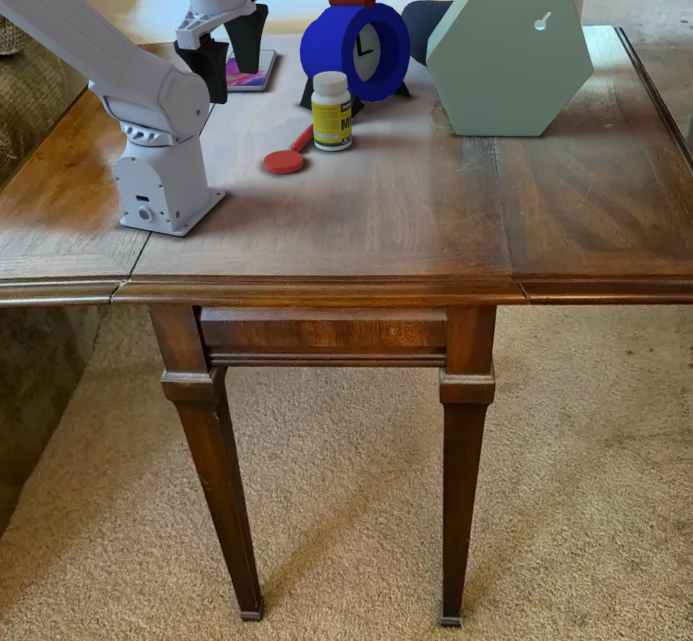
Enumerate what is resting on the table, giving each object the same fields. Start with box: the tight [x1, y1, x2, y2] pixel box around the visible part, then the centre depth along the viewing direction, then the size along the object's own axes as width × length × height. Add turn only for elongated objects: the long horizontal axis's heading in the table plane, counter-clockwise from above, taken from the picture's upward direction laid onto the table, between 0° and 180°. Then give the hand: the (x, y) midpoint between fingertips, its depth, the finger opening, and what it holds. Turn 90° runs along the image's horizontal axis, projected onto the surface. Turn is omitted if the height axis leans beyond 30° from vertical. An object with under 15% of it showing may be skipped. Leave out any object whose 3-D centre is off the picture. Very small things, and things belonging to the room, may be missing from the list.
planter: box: [426, 0, 595, 137], centre depth 92 cm, size 17×8×21 cm
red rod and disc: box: [263, 122, 314, 175], centre depth 94 cm, size 13×5×1 cm, turn 158°
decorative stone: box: [400, 0, 454, 68], centre depth 110 cm, size 12×12×10 cm
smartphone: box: [226, 49, 278, 92], centre depth 114 cm, size 7×1×15 cm
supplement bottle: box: [311, 71, 353, 152], centre depth 92 cm, size 5×5×8 cm
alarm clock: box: [299, 0, 412, 121], centre depth 100 cm, size 12×12×15 cm
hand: (234, 87), depth 86 cm, fingers open, 7 cm apart
